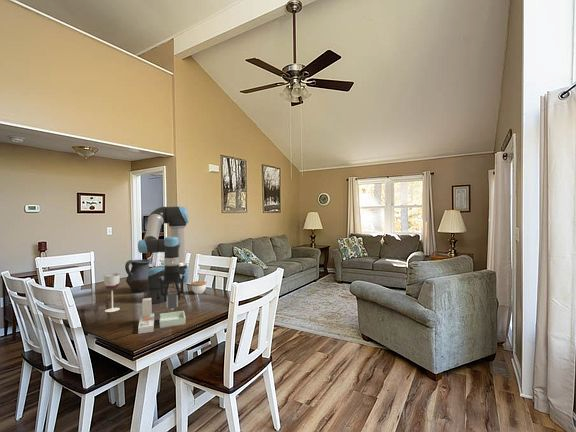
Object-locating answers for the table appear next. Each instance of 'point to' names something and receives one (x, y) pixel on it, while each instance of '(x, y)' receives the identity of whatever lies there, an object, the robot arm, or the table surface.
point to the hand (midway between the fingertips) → (172, 306)
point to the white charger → (147, 306)
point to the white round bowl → (198, 287)
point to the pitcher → (137, 275)
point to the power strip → (146, 324)
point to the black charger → (172, 300)
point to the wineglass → (112, 286)
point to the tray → (172, 319)
